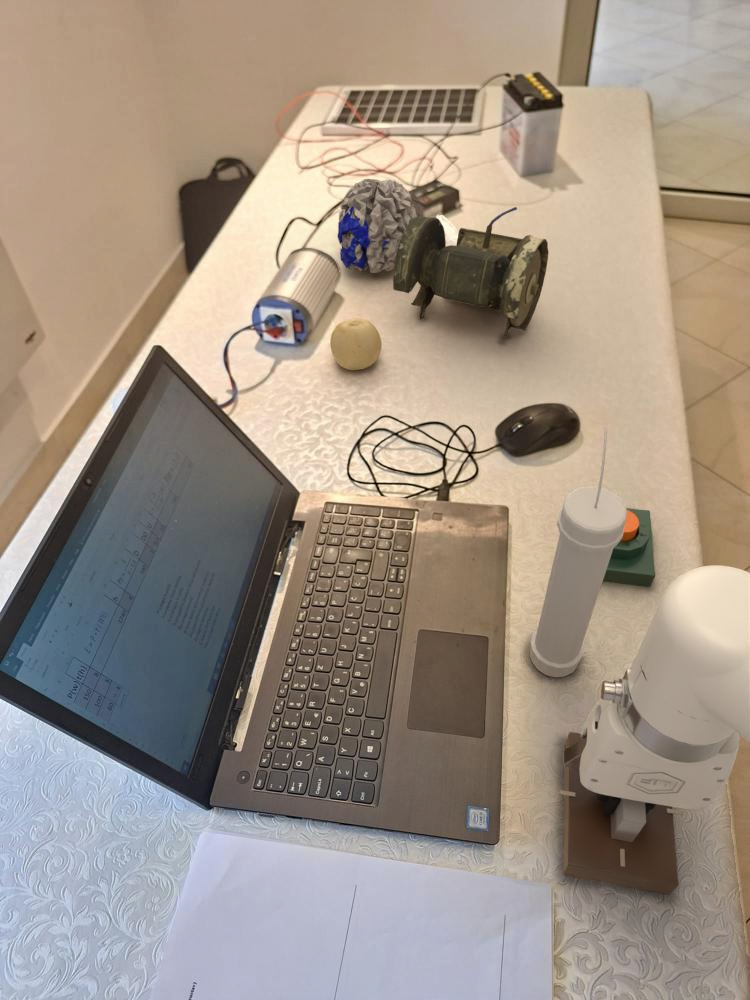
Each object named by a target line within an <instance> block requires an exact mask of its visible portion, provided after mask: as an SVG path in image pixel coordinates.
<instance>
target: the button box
mask: <svg viewBox="0 0 750 1000" xmlns="http://www.w3.org/2000/svg"><path fill="white" fill-rule="evenodd" d="M626 510H628V511H630V512H632V513H634V514H635V515H636V516H637V518H638V520H639V527H638V530H637V532H636V535H635V537H634V538H633V539H632V540H630V541H626V542H619V543H618V544H617V545H616V546H615V547H614V548H613V551H612V554H611V557H610V560H609V563H608V566H607V570H606V573H605V576H604V579H603V582H610V583H618V584H626V585H632V586H633V585H634V586H641V587H647V588H648V587H649V588H650V587H652V584H653V582H654V580H655V577H656V571H655V557H654V545H653V533H652V532H653V531H652V521H651V511H650V510H647V509H646V510H645V509H638V508H628V507H626Z"/></svg>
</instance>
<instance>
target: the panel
mask: <svg viewBox="0 0 750 1000" xmlns="http://www.w3.org/2000/svg"><path fill="white" fill-rule="evenodd" d="M581 740H582V739H581V733H579V732H573V731H570V732H569V733H568V736H567V739H566V742H565V744H564V750H566V749H567V748H569V747H571V746H572V745H574V744H576V743H577V742H579V741H581ZM563 776H564V777H563V781H564V782H563V790H562V789H559V790H558V794H559V795H561V796H563V827H562V828H563V830H562V831H563V835H562V837H563V838H562V875H563V876H567V877H568V876H569V877H573V878H578V879H583V880H588V881H594V882H599V883H605V884H609V885H610V884H611V885H616V886H621V887H625V888H631V889H637V890H641V891H646V892H652V893H658V894H663V895H668V896H669V895H671V893H672V892H673V891H674V890H675V889H677V887H678V886H679V874H678V861H677V850H676V836H675V825H674V823H675V822H674V815H676V816H680V817H681V816H682V817H683V816H685V815H684V811H683V810H679V809H673V807H671V806H665V805H659V804H656V805H655V807H654V808H653V809H650V810H649V812H648V813H647V815H646V823H645V825H644V826H643V828H642V829H641V831H640V832H639V834H638V835H637V836H636V838H635V839H634V841H633V842H627V841H622V840H616V839H611V815H610V816H608V815H604V814H603V801H600V800H597V793H595V792H592V791H590V790H588V789H587V788H585V787H584V786H583V785H582V784H581V781H580V772H577V771H574V770H571V769H569V768H566V767H564V775H563Z"/></svg>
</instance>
